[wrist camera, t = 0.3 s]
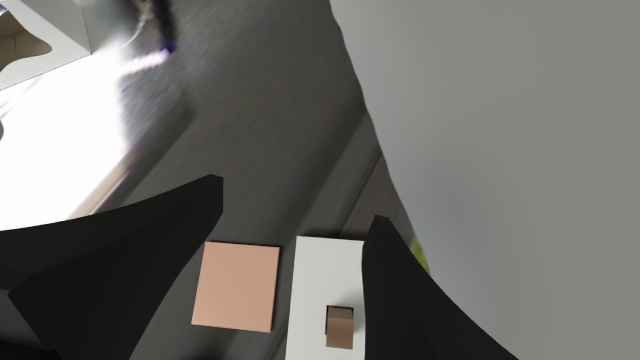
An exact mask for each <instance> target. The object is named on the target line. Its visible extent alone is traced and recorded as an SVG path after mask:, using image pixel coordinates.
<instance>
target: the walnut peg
mask: <svg viewBox="0 0 640 360" xmlns="http://www.w3.org/2000/svg"><path fill="white" fill-rule="evenodd" d="M353 330H354V318H353V314H352V310H351V307H343V306H332V305H329V309H328V320H327V337H326V347H332V348H341V349H350V350H353Z"/></svg>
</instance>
